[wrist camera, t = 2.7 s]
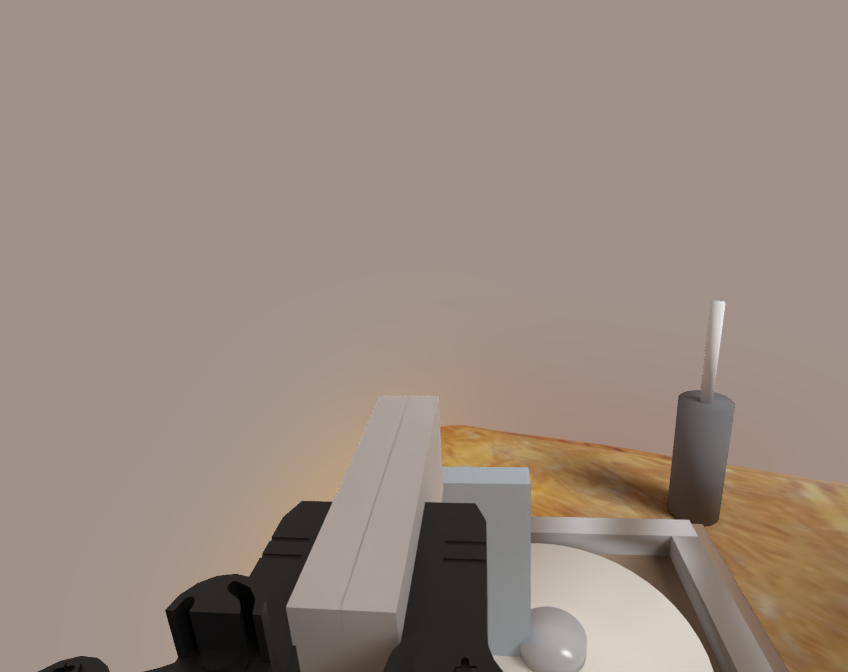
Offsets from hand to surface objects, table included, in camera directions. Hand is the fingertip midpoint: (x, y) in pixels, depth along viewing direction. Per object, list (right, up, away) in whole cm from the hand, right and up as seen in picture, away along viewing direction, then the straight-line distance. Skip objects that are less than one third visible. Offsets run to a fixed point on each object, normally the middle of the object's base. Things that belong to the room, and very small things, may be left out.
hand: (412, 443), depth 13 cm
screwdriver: (+20, -10, +25) cm, 33 cm away
